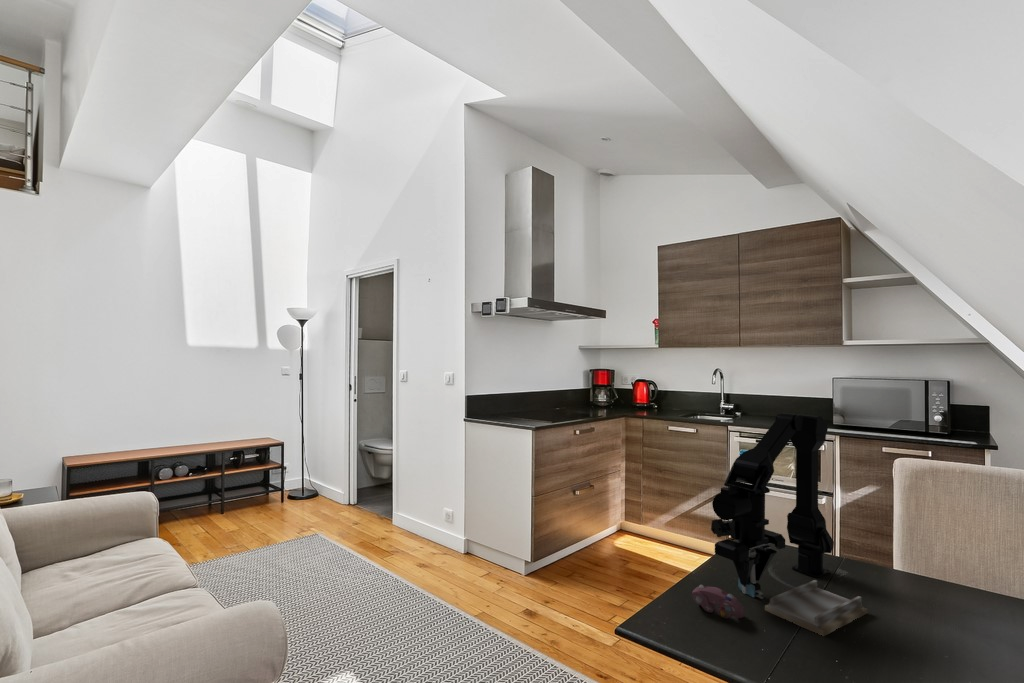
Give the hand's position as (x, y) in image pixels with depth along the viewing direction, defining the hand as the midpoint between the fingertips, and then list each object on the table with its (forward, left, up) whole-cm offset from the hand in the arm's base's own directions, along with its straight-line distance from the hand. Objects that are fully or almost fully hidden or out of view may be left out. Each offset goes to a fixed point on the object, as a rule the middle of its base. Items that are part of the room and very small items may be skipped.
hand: (750, 582), depth 119 cm
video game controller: (+14, +2, -3) cm, 15 cm away
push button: (0, 0, -3) cm, 3 cm away
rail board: (-5, +12, -3) cm, 13 cm away
